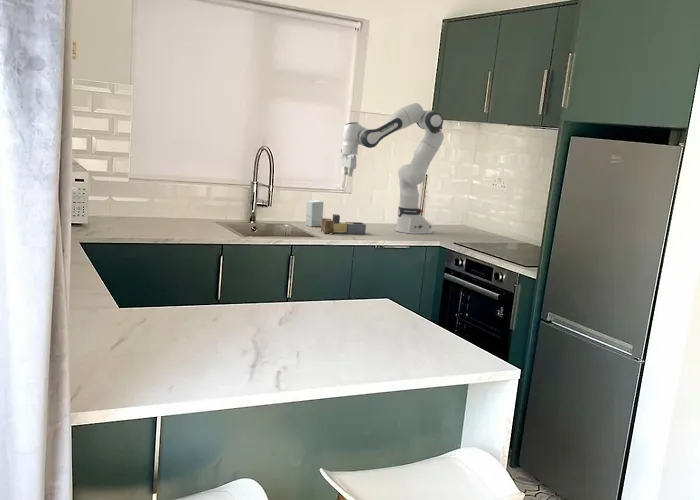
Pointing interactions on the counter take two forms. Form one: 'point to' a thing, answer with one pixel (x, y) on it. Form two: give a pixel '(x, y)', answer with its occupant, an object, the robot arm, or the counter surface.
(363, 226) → the sleeve
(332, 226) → the brown wooden box
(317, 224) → the skincare box
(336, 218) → the tan block
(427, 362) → the counter surface
